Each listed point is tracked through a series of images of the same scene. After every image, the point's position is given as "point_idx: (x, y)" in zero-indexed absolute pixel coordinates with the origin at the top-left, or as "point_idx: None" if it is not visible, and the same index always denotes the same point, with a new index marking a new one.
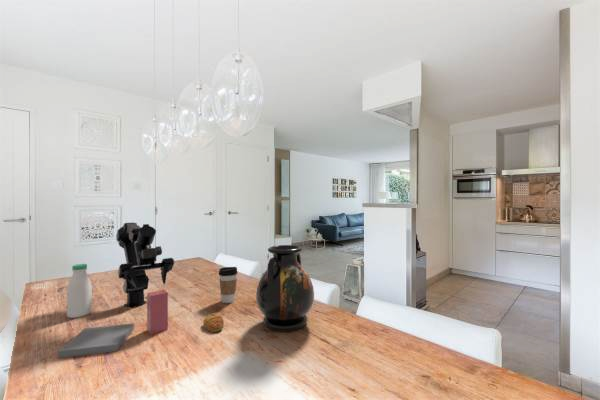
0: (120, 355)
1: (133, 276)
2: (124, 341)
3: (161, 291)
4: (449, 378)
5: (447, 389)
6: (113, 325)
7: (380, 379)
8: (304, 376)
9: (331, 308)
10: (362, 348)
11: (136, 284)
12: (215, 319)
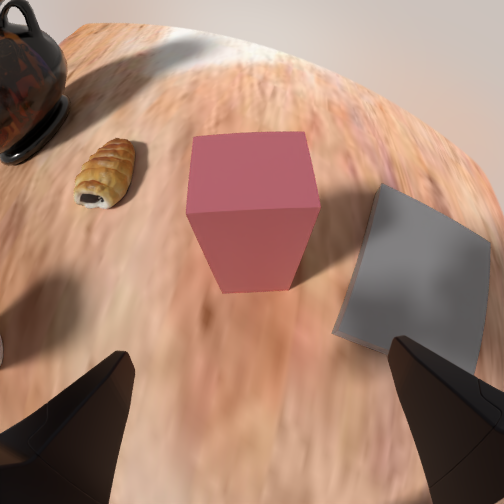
0: (364, 168)
1: (497, 407)
2: (363, 239)
3: (217, 178)
4: (92, 31)
5: (105, 25)
6: None
7: (116, 31)
8: (149, 37)
9: None
10: (72, 59)
11: (422, 352)
12: (103, 153)
